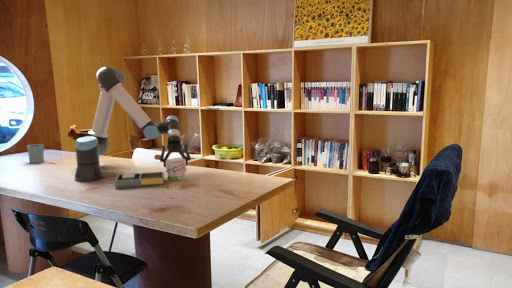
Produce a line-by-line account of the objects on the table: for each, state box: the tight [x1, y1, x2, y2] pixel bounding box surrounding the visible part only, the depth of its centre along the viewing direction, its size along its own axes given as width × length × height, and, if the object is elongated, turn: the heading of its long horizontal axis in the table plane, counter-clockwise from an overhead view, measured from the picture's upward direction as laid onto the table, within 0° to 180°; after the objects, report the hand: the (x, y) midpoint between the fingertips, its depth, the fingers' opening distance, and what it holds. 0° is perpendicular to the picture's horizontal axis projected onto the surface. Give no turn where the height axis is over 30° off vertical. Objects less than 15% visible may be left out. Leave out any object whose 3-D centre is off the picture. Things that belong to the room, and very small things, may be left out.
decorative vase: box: [67, 124, 105, 170], centre depth 254 cm, size 21×23×28 cm
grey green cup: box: [26, 143, 45, 165], centre depth 271 cm, size 10×10×12 cm
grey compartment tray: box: [114, 171, 165, 190], centre depth 210 cm, size 24×14×5 cm, turn 104°
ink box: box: [167, 157, 186, 182], centre depth 219 cm, size 8×5×12 cm, turn 135°
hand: (176, 170), depth 217 cm, fingers closed on ink box, 9 cm apart
